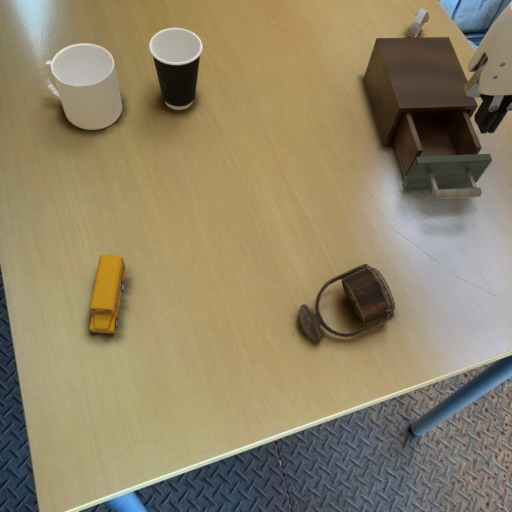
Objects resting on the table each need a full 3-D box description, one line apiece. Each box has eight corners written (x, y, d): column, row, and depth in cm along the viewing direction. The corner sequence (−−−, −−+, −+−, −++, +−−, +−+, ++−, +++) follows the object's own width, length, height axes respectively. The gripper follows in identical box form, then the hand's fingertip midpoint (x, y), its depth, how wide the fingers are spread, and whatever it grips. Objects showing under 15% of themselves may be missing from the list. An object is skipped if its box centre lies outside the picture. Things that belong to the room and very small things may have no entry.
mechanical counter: (412, 335, 68) (403, 257, 70) (312, 335, 65) (308, 255, 68) (388, 342, 74) (381, 271, 77) (297, 343, 72) (293, 270, 75)
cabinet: (455, 143, 91) (478, 105, 84) (383, 146, 90) (399, 108, 82) (430, 76, 99) (448, 36, 91) (363, 78, 97) (376, 37, 90)
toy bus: (90, 334, 70) (84, 322, 67) (103, 267, 75) (99, 253, 71) (115, 336, 70) (111, 324, 67) (127, 268, 75) (123, 255, 72)
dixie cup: (212, 95, 92) (212, 41, 83) (184, 124, 89) (182, 71, 79) (173, 75, 94) (169, 20, 84) (145, 103, 90) (138, 48, 80)
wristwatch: (424, 30, 105) (434, 7, 101) (415, 45, 103) (424, 22, 98) (410, 24, 105) (419, 1, 101) (401, 39, 103) (409, 16, 99)
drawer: (482, 211, 84) (503, 184, 78) (410, 215, 82) (426, 188, 76) (446, 118, 93) (462, 88, 87) (381, 120, 91) (394, 90, 85)
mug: (133, 102, 90) (125, 56, 82) (102, 138, 86) (92, 94, 78) (70, 76, 92) (57, 29, 84) (38, 111, 87) (20, 65, 79)
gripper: (610, -23, 59) (525, 102, 75) (480, -21, 57) (421, 106, 73) (642, 24, 55) (546, 144, 71) (505, 28, 54) (437, 150, 70)
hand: (483, 125), depth 72 cm, fingers closed
